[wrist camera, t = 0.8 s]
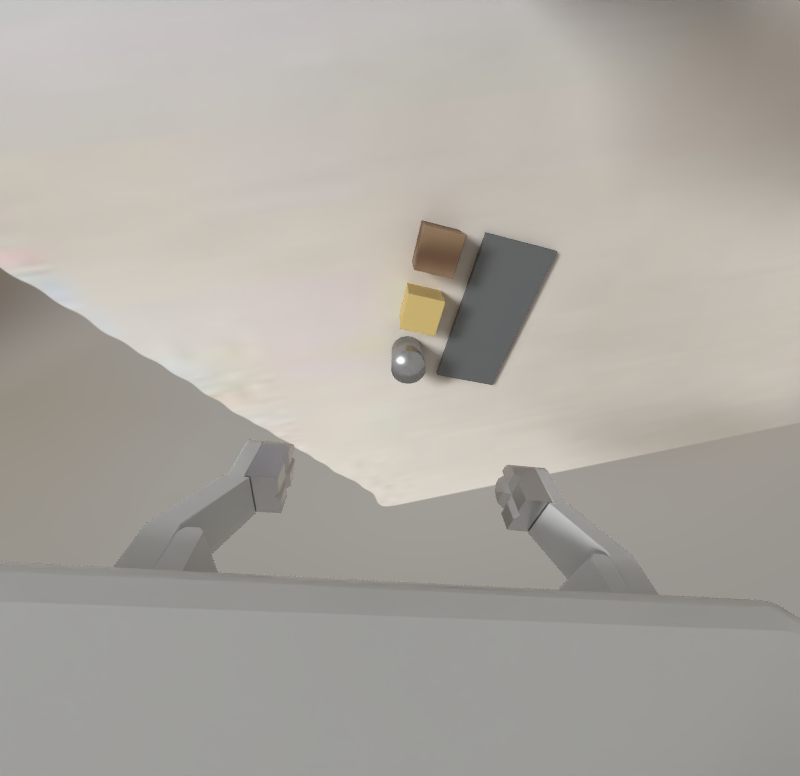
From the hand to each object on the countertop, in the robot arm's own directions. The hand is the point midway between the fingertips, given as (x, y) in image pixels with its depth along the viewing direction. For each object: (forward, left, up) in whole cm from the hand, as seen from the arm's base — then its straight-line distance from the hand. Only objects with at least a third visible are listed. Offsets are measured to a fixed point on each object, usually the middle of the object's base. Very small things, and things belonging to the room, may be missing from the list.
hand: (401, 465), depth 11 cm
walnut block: (-3, +5, -35) cm, 36 cm away
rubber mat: (+5, +16, -35) cm, 39 cm away
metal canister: (+13, +5, -35) cm, 38 cm away
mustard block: (+5, +5, -35) cm, 36 cm away
